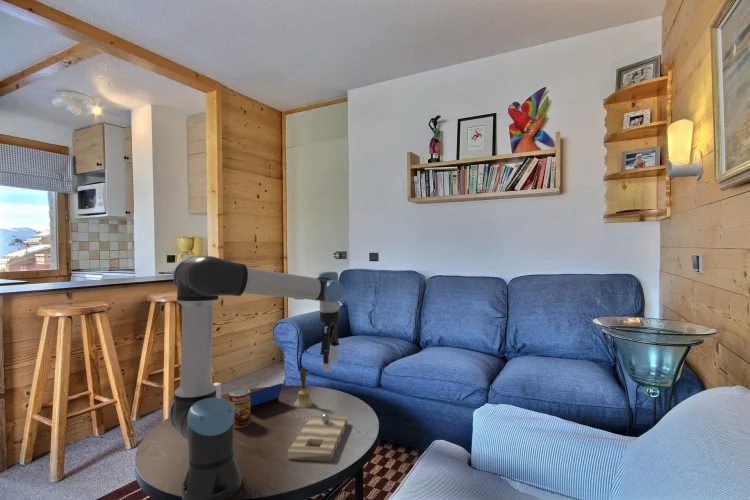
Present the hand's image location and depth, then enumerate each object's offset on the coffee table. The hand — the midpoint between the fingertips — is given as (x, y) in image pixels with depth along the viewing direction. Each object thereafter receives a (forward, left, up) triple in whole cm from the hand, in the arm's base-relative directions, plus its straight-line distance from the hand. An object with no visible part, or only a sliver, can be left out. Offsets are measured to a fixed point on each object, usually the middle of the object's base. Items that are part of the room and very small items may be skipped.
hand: (330, 366), depth 150 cm
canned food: (-7, +34, -21) cm, 41 cm away
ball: (-9, 0, -16) cm, 19 cm away
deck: (-17, 0, -20) cm, 27 cm away
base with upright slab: (-2, +49, -21) cm, 53 cm away
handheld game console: (+11, +34, -21) cm, 41 cm away
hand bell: (+13, +15, -21) cm, 29 cm away
